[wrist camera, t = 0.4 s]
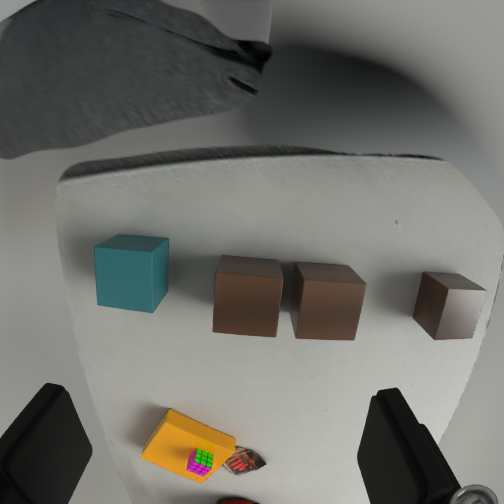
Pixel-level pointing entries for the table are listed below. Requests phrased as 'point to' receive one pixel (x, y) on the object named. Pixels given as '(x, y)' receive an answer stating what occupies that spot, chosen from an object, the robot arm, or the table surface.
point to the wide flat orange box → (187, 447)
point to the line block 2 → (326, 301)
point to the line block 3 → (448, 305)
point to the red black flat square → (244, 462)
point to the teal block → (131, 272)
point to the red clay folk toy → (235, 501)
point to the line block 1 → (247, 296)
